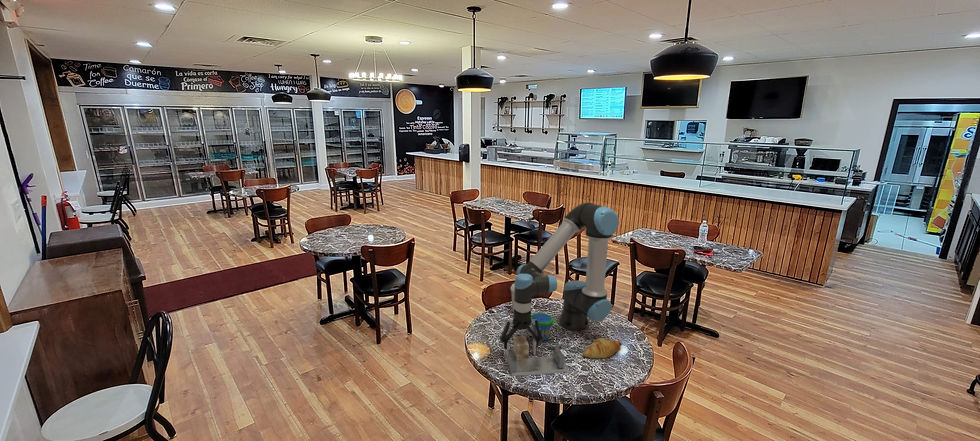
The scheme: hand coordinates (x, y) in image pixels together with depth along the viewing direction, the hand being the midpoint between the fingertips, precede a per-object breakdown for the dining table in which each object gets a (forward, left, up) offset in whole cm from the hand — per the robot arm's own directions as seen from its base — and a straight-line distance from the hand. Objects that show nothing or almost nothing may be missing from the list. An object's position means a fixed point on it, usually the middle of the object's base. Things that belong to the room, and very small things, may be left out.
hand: (520, 354), depth 181 cm
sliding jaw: (-14, +9, +2) cm, 17 cm away
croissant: (-37, +2, -1) cm, 37 cm away
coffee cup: (-8, -42, 0) cm, 43 cm away
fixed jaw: (+6, +10, +1) cm, 12 cm away
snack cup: (-13, -14, 0) cm, 19 cm away
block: (0, 0, 0) cm, 0 cm away
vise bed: (-5, +10, 0) cm, 11 cm away
